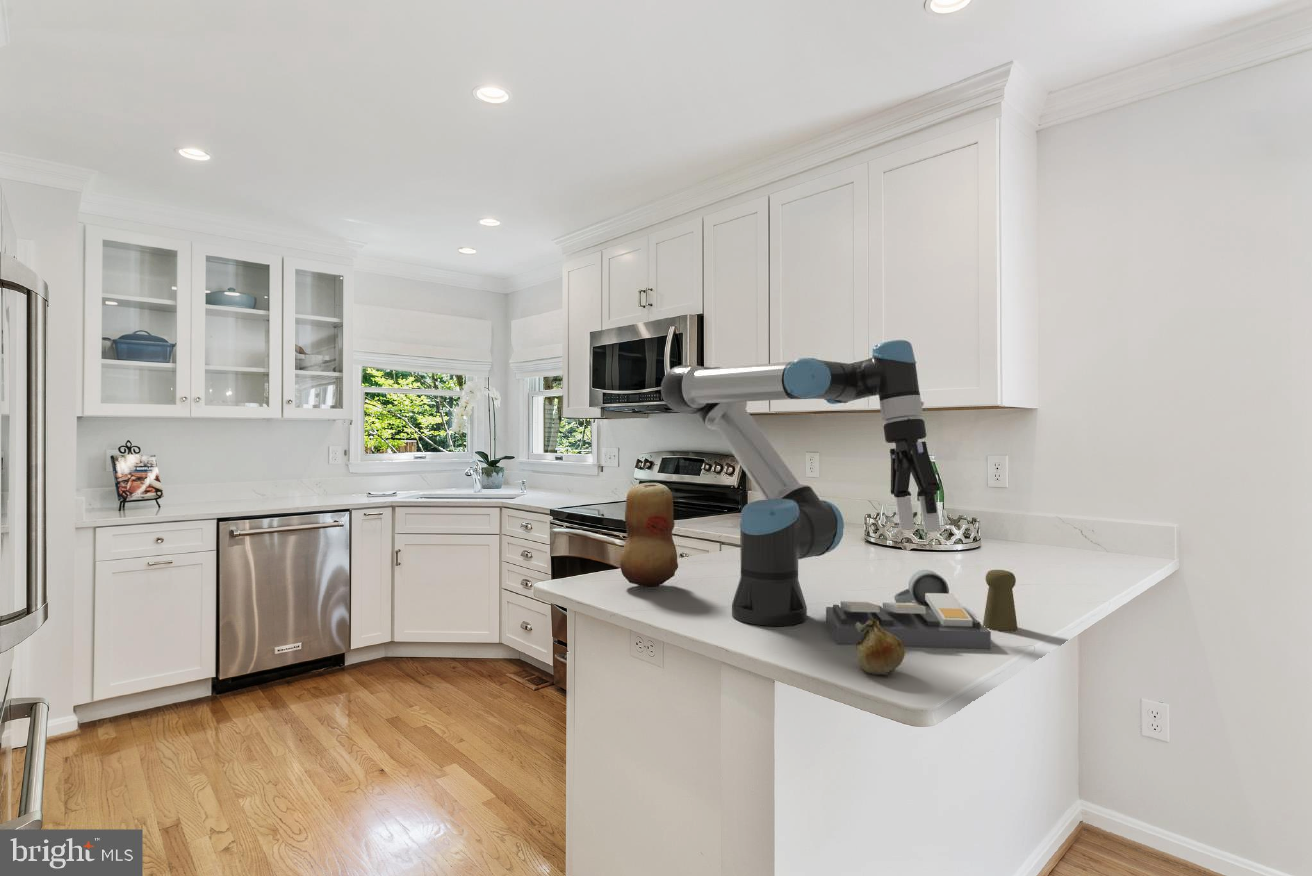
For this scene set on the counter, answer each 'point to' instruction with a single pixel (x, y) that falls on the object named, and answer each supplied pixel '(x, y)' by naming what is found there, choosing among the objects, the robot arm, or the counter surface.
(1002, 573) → the cork
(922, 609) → the block
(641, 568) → the butternut squash
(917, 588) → the ceramic mug
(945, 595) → the right rocker
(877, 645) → the onion
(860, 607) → the left rocker
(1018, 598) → the counter surface
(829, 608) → the rocker switch panel
